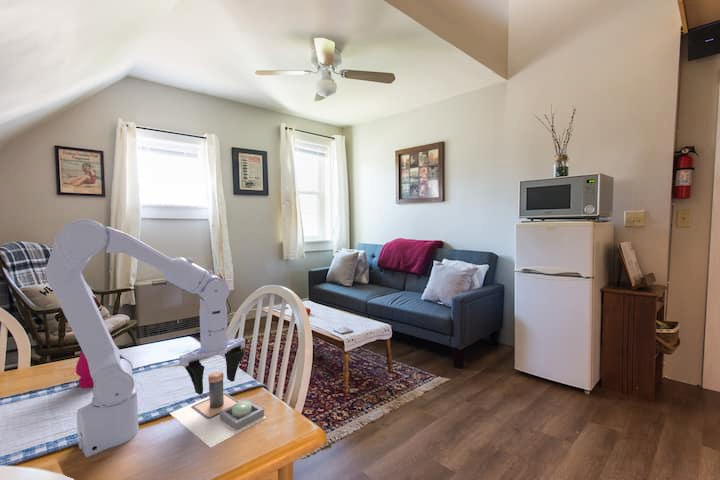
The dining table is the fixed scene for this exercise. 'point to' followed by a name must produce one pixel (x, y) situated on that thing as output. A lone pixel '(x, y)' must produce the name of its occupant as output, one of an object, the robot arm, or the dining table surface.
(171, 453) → the dining table surface
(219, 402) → the marker
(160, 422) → the dining table surface
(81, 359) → the pepper mill
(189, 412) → the board
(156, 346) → the dining table surface
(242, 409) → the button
